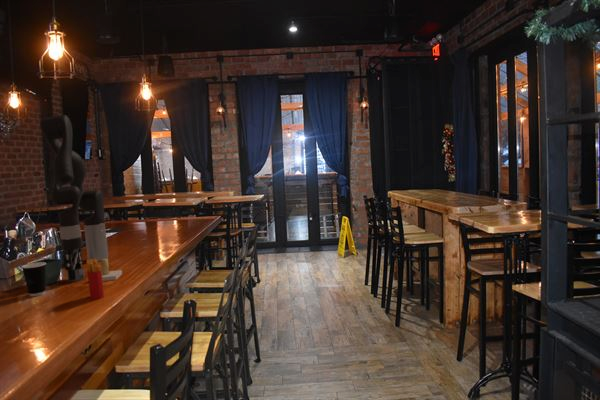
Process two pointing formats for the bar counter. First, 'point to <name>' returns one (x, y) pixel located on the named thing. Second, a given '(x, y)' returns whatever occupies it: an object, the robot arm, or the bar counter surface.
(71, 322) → the bar counter surface
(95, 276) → the french fries
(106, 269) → the stand
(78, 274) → the ring
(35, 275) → the dixie cup
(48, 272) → the flower pot
